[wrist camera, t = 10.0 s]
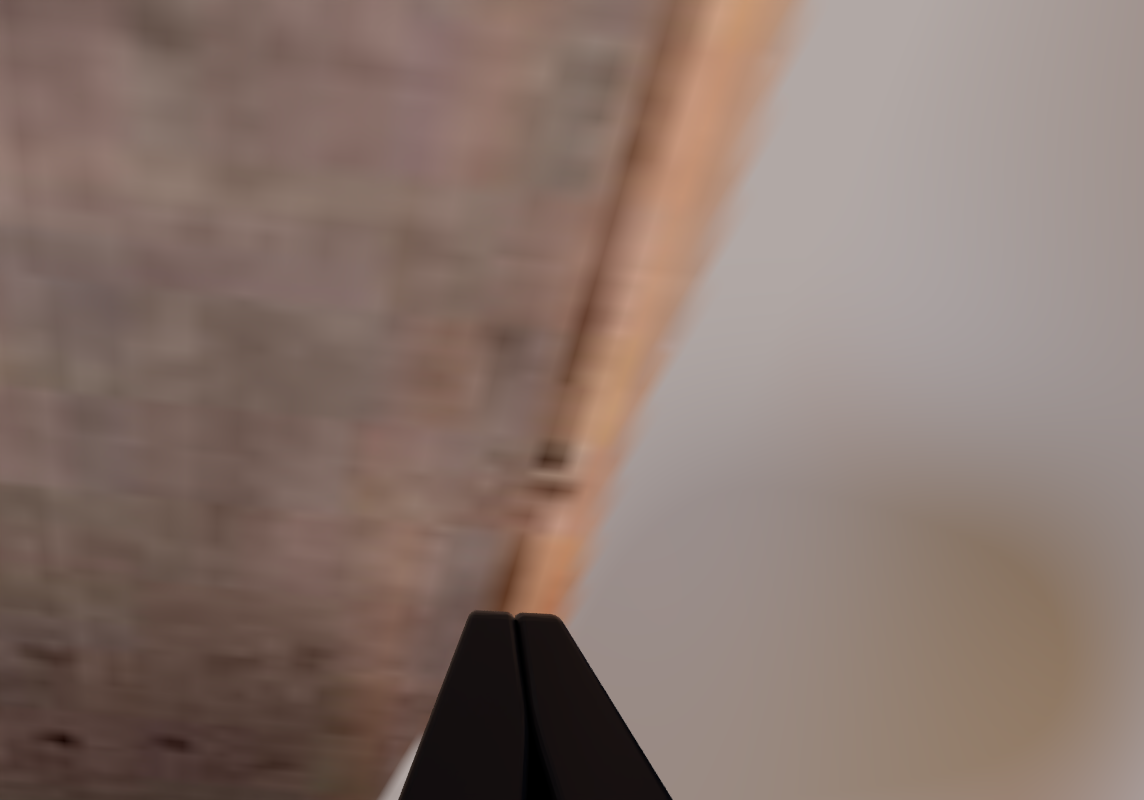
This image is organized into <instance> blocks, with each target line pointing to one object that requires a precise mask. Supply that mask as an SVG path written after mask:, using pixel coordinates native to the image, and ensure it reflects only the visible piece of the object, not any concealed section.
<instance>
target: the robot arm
mask: <svg viewBox="0 0 1144 800" xmlns="http://www.w3.org/2000/svg"><path fill="white" fill-rule="evenodd" d="M398 800H672V798H671V796H670V795H669V793H668V791H667V790H666V788H665V786H664V785H663V783H662V782H661V780H660V778H659V777H658V775H657V774H656V772H655V771H654V769H653V767H652V765H651V764H650V762H649V761H648V759H647V757H646V756H645V754H644V753H643V751H642V749H641V748H640V746H639V745H638V743H637V741H636V740H635V738H634V736H633V735H632V733H631V732H630V730H629V728H628V727H627V725H626V723H625V722H624V720H623V719H622V717H621V715H620V714H619V712H618V711H617V709H616V707H615V706H614V704H613V702H612V701H611V699H610V698H609V696H608V694H607V693H606V691H605V690H604V688H603V686H602V685H601V683H600V682H599V680H598V678H597V677H596V675H595V673H594V672H593V670H592V668H591V667H590V666H589V664H588V662H587V660H586V659H585V657H584V655H583V654H582V652H581V651H580V649H579V647H578V646H577V644H576V643H575V641H574V639H573V638H572V636H571V634H570V633H569V631H568V630H567V628H566V626H565V625H564V623H563V622H562V620H561V619H560V618H559V617H557V616H555V615H552V614H537V613H519V614H517V615H516V616H515V618H514V617H513V615H512V614H510V613H508V612H499V611H480V610H477V611H473V612H472V613H471V614H470V615H469V617H468V619H467V621H466V624H465V627H464V629H463V632H462V634H461V637H460V640H459V642H458V645H457V648H456V650H455V653H454V655H453V658H452V661H451V663H450V666H449V668H448V671H447V674H446V676H445V679H444V682H443V684H442V687H441V689H440V692H439V695H438V697H437V700H436V703H435V705H434V708H433V710H432V713H431V716H430V718H429V721H428V724H427V726H426V729H425V731H424V734H423V737H422V739H421V742H420V744H419V747H418V750H417V752H416V755H415V758H414V760H413V763H412V766H411V768H410V771H409V773H408V776H407V779H406V781H405V784H404V786H403V789H402V792H401V795H400V797H399V799H398Z"/></svg>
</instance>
